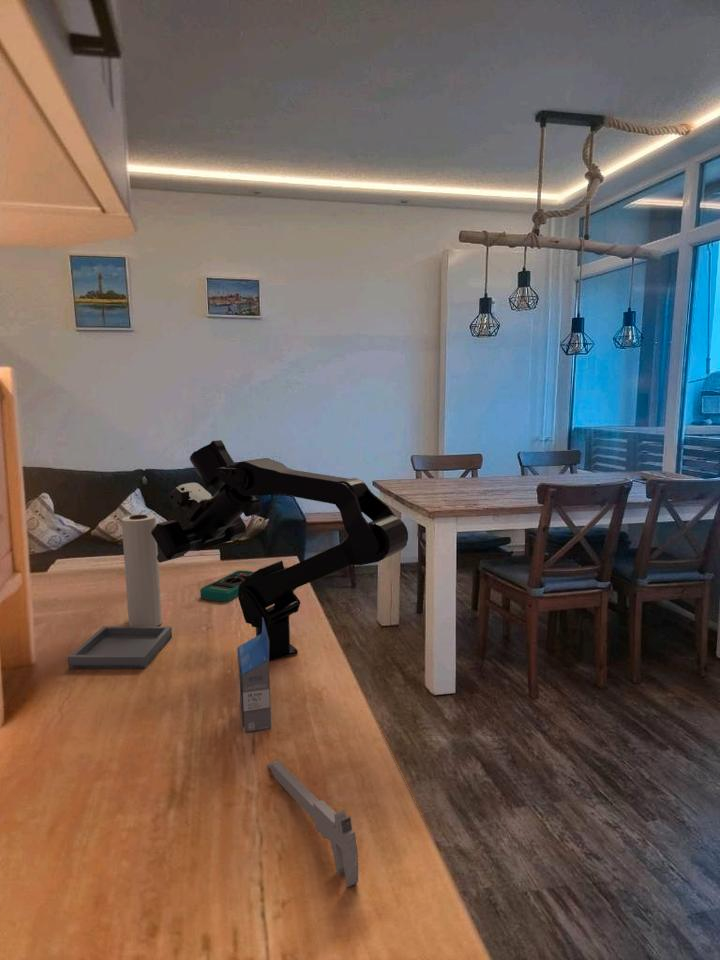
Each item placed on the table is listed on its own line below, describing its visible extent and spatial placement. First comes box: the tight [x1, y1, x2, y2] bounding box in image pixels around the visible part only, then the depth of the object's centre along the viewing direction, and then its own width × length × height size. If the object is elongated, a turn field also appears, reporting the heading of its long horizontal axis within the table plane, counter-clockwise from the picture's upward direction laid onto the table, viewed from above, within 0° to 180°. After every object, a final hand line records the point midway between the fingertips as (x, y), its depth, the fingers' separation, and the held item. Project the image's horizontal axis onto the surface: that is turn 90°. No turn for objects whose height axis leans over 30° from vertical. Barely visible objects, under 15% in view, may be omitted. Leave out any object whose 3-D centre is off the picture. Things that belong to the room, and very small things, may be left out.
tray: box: [67, 625, 173, 670], centre depth 101 cm, size 13×13×2 cm
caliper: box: [266, 760, 359, 888], centre depth 61 cm, size 20×1×6 cm, turn 30°
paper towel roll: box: [121, 513, 163, 626], centre depth 112 cm, size 7×6×21 cm
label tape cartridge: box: [237, 617, 272, 734], centre depth 80 cm, size 9×4×12 cm, turn 15°
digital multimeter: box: [199, 570, 254, 603], centre depth 132 cm, size 7×15×3 cm, turn 157°
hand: (178, 554), depth 109 cm, fingers open, 9 cm apart
